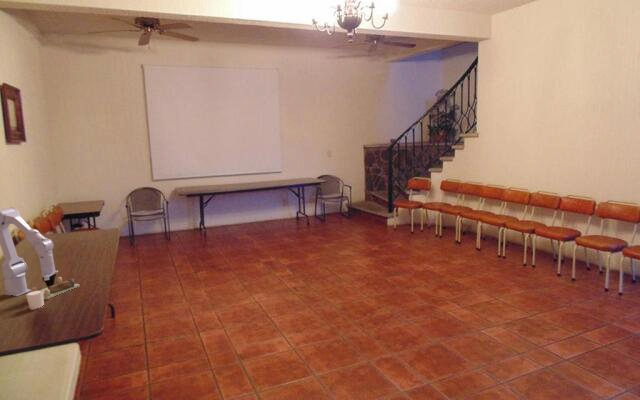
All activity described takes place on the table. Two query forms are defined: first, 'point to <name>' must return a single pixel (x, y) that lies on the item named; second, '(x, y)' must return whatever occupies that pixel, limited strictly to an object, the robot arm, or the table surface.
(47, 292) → the seat
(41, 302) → the shot glass
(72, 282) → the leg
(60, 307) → the table surface
